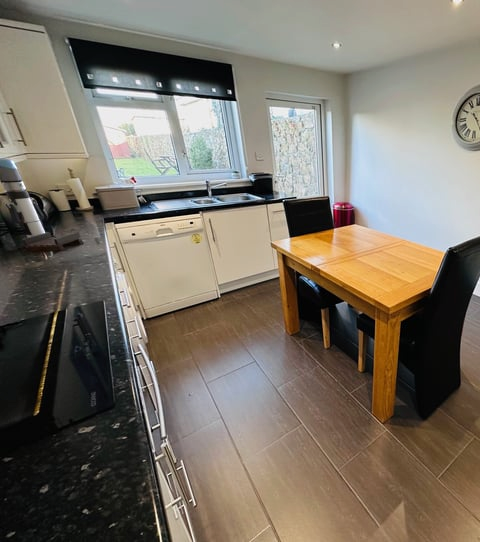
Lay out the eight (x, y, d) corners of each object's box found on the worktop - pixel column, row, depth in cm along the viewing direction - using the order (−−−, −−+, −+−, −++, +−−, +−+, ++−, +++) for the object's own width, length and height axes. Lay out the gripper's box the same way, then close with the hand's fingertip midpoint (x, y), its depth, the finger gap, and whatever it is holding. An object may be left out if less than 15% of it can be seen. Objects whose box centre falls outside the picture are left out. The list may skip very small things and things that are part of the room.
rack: (27, 252, 145) (21, 239, 142) (52, 244, 158) (47, 232, 155) (61, 252, 146) (56, 239, 144) (83, 243, 159) (78, 231, 156)
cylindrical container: (47, 243, 158) (27, 198, 148) (28, 245, 154) (7, 199, 144) (50, 240, 163) (31, 196, 153) (33, 242, 159) (12, 197, 149)
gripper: (3, 193, 138) (24, 238, 147) (42, 188, 157) (58, 228, 166) (-14, 193, 138) (8, 238, 147) (27, 188, 156) (44, 228, 165)
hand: (35, 232), depth 156 cm, fingers closed on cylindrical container, 7 cm apart
